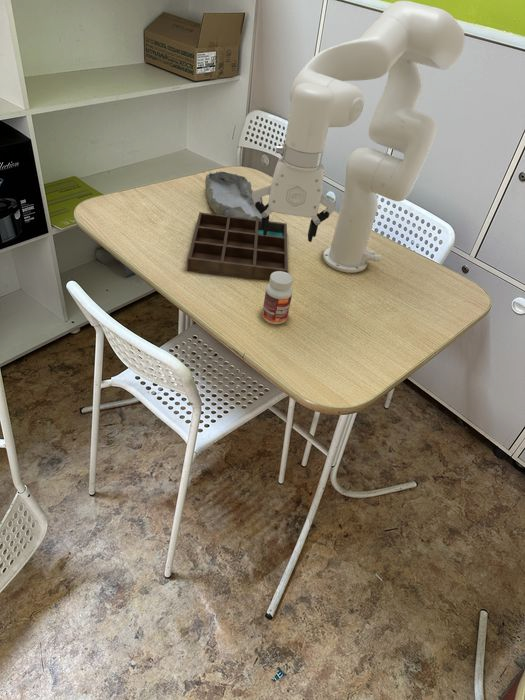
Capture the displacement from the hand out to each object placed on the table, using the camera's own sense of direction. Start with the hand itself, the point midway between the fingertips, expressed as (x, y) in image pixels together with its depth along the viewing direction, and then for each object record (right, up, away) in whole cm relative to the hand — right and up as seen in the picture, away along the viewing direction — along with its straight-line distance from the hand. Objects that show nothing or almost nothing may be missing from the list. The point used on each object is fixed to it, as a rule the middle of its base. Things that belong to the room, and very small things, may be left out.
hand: (287, 235), depth 111 cm
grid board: (-12, +3, +34) cm, 36 cm away
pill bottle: (-2, -17, +14) cm, 22 cm away
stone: (-16, +21, +54) cm, 60 cm away
